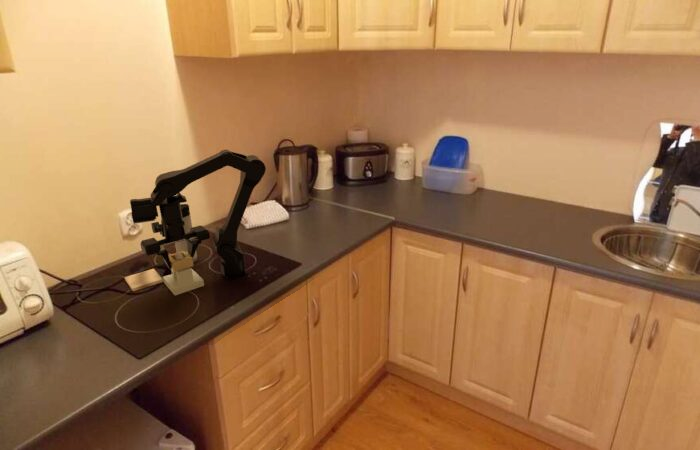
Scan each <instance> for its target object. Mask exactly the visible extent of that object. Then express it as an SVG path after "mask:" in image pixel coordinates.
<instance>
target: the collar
mask: <svg viewBox="0 0 700 450" xmlns="http://www.w3.org/2000/svg"><path fill="white" fill-rule="evenodd" d="M176 254H182V256H183V258H181V259H178V260H176V257H175V255H176ZM168 256H169V260H170V264H171V269H172V271H173V272H176V271H179V270H182V269H185V268H189V267H190V268H192V267H194V262H193V258H192V256H191V255H190V254H188V253H187V252H186V251H185V250H184V251H181V252H175V253H170V254H168ZM171 269H170V270H171Z"/></svg>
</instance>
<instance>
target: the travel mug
mask: <svg viewBox="0 0 700 450" xmlns="http://www.w3.org/2000/svg"><path fill="white" fill-rule="evenodd" d="M180 205H181V211H182V217H183V221H184V223H185V225H184V229H185V233H188V232H190V228H192V227H193V223H192V217H191V213H190V205H189V204H188V203H180ZM174 246H175V247H174V248H175V250H176V252H175V253H177V252H181V251H184V250H185V251H186V252H187V253H188V247H187V242H186V240H184V241H180V242H177V243H174ZM197 260H198V254H197V250H196V251H195V254H194V257H193V263H195V262H197Z"/></svg>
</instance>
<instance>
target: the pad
mask: <svg viewBox="0 0 700 450" xmlns="http://www.w3.org/2000/svg"><path fill="white" fill-rule="evenodd" d="M123 278H124V280H125V282H126V283H127V285H128V287H129V288H130V289H131V291H132V292H136V291H139V290H142V289H146V288H148V287H152V286H154V285H158V284H161V283H164V281H163V277H162V276H160V274H159V272H157V270H155V268H151V269H148V270H145V271H141V272H138V273H134V274H130V275H128V276H125V277H123Z"/></svg>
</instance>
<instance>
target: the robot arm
mask: <svg viewBox="0 0 700 450" xmlns="http://www.w3.org/2000/svg"><path fill="white" fill-rule="evenodd" d="M225 167H231V168H233V169H236V170H238V171H240V176H239V179H240V180H239V184H238V187H237V190H236V193H235V194H234V198H233V200H232V203H231V206H230V208H229V211H228V213H227V216H226V218H225V219H226V220H225V222H224V223H223V225H221V227H218V226H216V227H215V230H214V234H213V235H212V237H211V235H210V232H209V230H208V229H207V228H206V227H204V226H203V225H197V226H196V225H195V226H192V228H190V232H188V233H185V229H184V225H185V223H184V221H183V217H182V211H181V205H180V204H184V203H187V202H188V200H187V198H186V196H185V195H183V194H182V193H181V192H183V190H184V189H186V188H187V187H188V186H190V184H192V183H194V182H196V181H197V180H200V179H202V178H205V177H206V176H208V175H209V176H210V175H211V174H212V173H214V172H216V171H219V170H221V169H223V168H225ZM266 169H267V167H266V165H265V163H264V162H263V160H261V159H260V158H259V157H258V156H256V155H254V154H250V155H249V154H248V155H245V154H241V153H239V152H234V151H232V150H229V149H222V150H220V152H217V153H215V154H213V155H211V156H209V157H207V158H205V159H202V160H200V161H198V162H196V163H194V164H191V165H190V166H188V167H185V168H181V169H177V170H172V171H171V170H170V171H168V172H165V173H161V174H159V175H158V176H157V177H155V178H156V179H155V182H154V184H155V185H154V186H155V187H154V188H153V190H152V192H151V193H150V197H144V198H133V199H130V202H129V203H130V208H131V209H130V210H131V218H132V222H133V224H134V225H135V224H141V223H142V224H143V223H148V222H149V223H150V225H151V230H152V233H153V234H158V233H159V234H160V235H161V237H163V238H162V239H159V240H157V239H156V238H155V237H151V238H147V239H143V240H141V242H140V249H141V251H142V252H143V253H144V254H145V255H146V256H152V255H156V256H161V258H162V260H163V261H164V263H165V265H166V266H167V268H168V269H169V270H171V264H170V260H169V256H168V255H169V252H168V250H167V249H165V246H170V245H173V244H175V243H177V242H180V241H184V240H186V242H187V247H188V254H190V255H191V256H192V258H193V257H194V254H195V251H196V252H197V249H198V247H199V245H200V244H202V242H203V241H205V240H209V239H210V238H212V244H213V246H214V248H215V252H216V254H217V255H218V256H219V257H220V259H221V261H220V265H219V266H220V273H221V275H222V276H223V277H224V278H226V279H227V280H228V281H231V280H234V279H237V278H241V277H242V276H243V277H244V276H247V275H248V271H247V270H246V268H245V258H244V253H243V252H242V249H241V247H240V245H239V244H238V230H239V227H240V225H241V222H242V220H243V217H244V215H245V213H246V209H247V208H248V207H247V206H248V204H249V201H250V199H251V196H252V193H253V192H254V189H255V188H256V187H257V185H258V184H259V183H260V182H261V180H262V178H263V177H264V175H265V173H266ZM158 208H159V211H158ZM159 213H160V218H161V219H160V220H161V221H160V222H161V223H159V221H155V220H157V218H158V217H159ZM153 221H154V222H153Z"/></svg>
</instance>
